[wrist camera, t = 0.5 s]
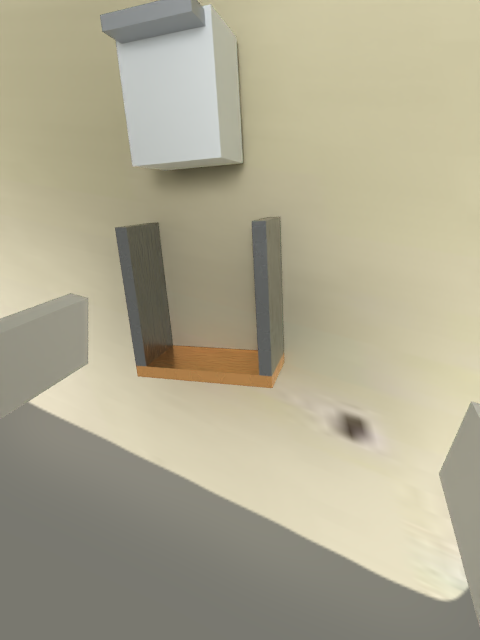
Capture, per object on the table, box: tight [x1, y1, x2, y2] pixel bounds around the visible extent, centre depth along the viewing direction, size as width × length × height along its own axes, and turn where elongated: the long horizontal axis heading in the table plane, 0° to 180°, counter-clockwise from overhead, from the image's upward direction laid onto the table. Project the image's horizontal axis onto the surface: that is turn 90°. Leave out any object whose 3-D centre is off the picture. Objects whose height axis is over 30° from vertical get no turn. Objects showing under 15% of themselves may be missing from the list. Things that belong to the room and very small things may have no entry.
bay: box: [115, 217, 284, 388], centre depth 38 cm, size 15×14×6 cm
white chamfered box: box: [100, 0, 243, 170], centre depth 31 cm, size 10×8×9 cm
